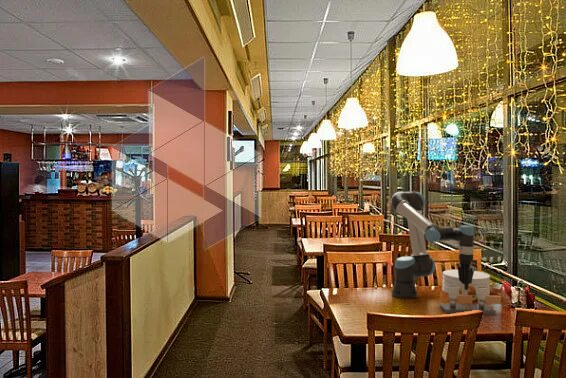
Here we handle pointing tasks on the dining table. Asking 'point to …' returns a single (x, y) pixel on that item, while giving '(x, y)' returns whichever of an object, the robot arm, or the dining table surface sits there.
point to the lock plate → (467, 307)
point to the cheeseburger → (470, 292)
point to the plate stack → (453, 280)
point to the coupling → (459, 298)
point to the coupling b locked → (487, 296)
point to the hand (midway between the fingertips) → (464, 295)
